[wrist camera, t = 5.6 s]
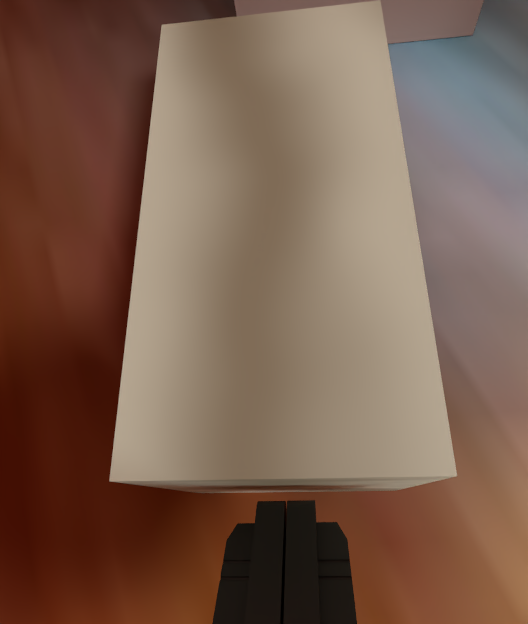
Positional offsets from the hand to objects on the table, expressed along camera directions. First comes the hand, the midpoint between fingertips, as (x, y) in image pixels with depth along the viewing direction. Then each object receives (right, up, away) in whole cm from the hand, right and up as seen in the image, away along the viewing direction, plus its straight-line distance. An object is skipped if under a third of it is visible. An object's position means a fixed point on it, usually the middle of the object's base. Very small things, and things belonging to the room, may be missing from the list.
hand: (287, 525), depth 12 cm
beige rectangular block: (0, +6, +7) cm, 9 cm away
